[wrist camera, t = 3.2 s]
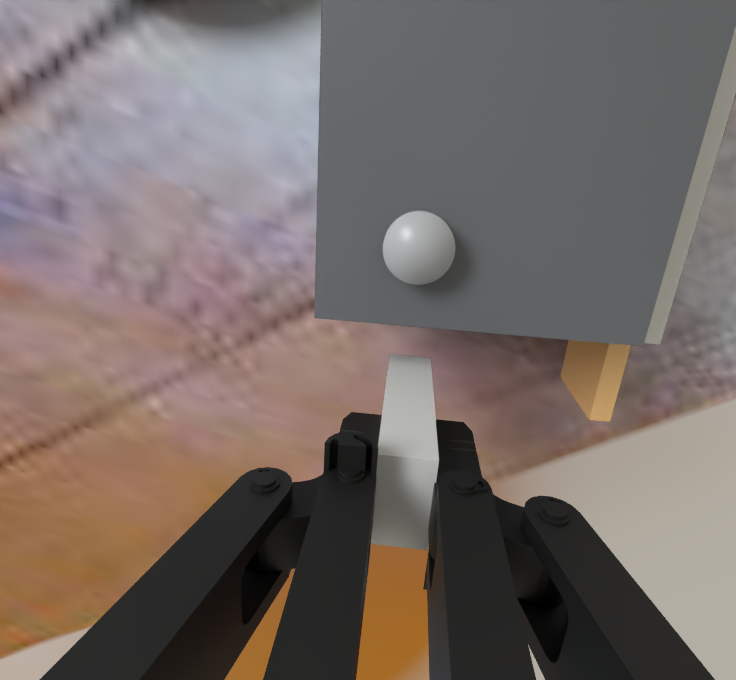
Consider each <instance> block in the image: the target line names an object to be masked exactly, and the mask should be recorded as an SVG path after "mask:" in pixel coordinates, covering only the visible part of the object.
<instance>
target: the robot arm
mask: <svg viewBox="0 0 736 680" xmlns="http://www.w3.org/2000/svg"><path fill="white" fill-rule="evenodd" d="M428 539H429V552H428V559H427V567H426V574H425V582H424V588H423V589H426V590H427V600H428V636H429V676H430V680H536V677H535V673H534V669H533V665H532V660H531V656H530V651H529V647H530V649H531V651H532V653H533V655H534V657H535V659H536V661H537V663H538V665H539V667H540V669H541V671H542V673H543V675H544V678H545V680H714V678H713V677H712V676H711V674H710V673H709V672H708V671H707V669H706V668H705V667H704V666H703V664H702V663H701V662H700V661H699V660H698V658H697V657H696V656H695V655H694V653H693V652H692V651H691V650H690V648H689V647H688V646H687V645H686V643H685V642H684V641H683V640H682V638H681V637H680V636H679V635H678V633H677V632H676V631H675V630H674V629H673V627H672V626H671V625H670V624H669V622H668V621H667V620H666V619H665V617H664V616H663V615H662V614H661V612H660V611H659V610H658V609H657V608H656V606H655V605H654V604H653V603H652V601H651V600H650V599H649V598H648V596H647V595H646V594H645V593H644V592H643V590H642V589H641V588H640V586H639V585H638V584H637V583H636V582H635V580H634V579H633V578H632V577H631V575H630V574H629V573H628V572H627V571H626V570H625V568H624V567H623V565H622V564H621V563H620V562H619V560H618V559H617V558H616V557H615V556H614V554H613V553H612V552H611V551H610V549H609V548H608V547H607V546H606V544H605V543H604V542H603V541H602V540H601V538H600V537H599V536H598V535H597V533H596V532H595V531H594V530H593V528H592V527H591V526H590V525H589V523H588V522H587V521H586V520H585V518H584V517H583V516H582V515H581V514H580V512H578V511H577V510H576V509H575V508H574V507H573V506H571V505H570V504H568V503H566V502H564V501H563V500H560V499H557V498H553V497H549V496H537V497H532V498H530V499H529V500H528V501H526V503H525V507H521V506H518V505H515V504H512V503H509V502H507V501H504V500H502V499H500V498H498V497H497V496H495V495H493V493H492V489H491V487H490V485H489V483H488V482H487V481H486V480H484V479H483V478H482V475H481V470H480V466H479V461H478V456H477V452H476V447H475V443H474V438H473V433H472V431H471V430H470V429H469V428H468V427H467V425H466V424H465V423H464V422H456V421H446V420H436V418H435V406H434V394H433V382H432V370H431V358H425V357H414V356H403V355H393V354H390V357H389V365H388V373H387V380H386V388H385V396H384V403H383V411H382V415H375V414H365V413H355V412H351V413H350V414H349V415H348V416H347V417H345V418H344V419H343V421H342V425H341V428H340V432H339V433H337V434H334V435H333V436H331V437H329V438H328V439H327V441H326V442H325V454H324V473H323V475H321V476H319V477H318V478H315V479H312V480H308V481H302V482H293V483H292V480H291V477H290V476H289V475H288V474H287V473H286V472H284V471H282V470H280V469H277V468H269V467H266V468H257V469H254V470H251V471H249V472H247V473H245V474H244V475H243V476H241V477H240V478H239V479H238V480H237V481H236V482H235V483H234V484H233V485H232V486H231V487H230V488H229V489H228V490H227V491H226V492H225V493H224V494H223V495H222V496H221V497H220V498H219V499H218V500H217V501H216V502H215V503H214V504H213V505H212V506H211V507H210V508H209V509H208V510H207V511H206V512H205V513H204V514H203V515H202V516H201V517H200V518H199V519H198V520H197V521H196V522H195V523H194V524H193V525H192V526H191V527H190V528H189V529H188V531H187V532H186V533H185V534H184V535H183V536H182V537H181V538H180V539H179V540H178V541H177V542H176V543H175V544H174V545H173V546H172V547H171V548H170V549H169V550H168V551H167V552H166V553H165V554H164V555H163V556H162V557H161V558H160V559H159V560H158V561H157V562H156V563H155V564H154V565H153V566H152V567H151V568H150V569H149V570H148V571H147V572H146V573H145V574H144V575H143V576H142V577H141V578H140V579H139V580H138V581H137V582H136V583H135V584H134V585H133V586H132V587H131V588H130V589H129V590H128V591H127V592H126V593H125V594H124V595H123V596H122V597H121V598H120V599H119V600H118V601H117V602H116V603H115V604H114V605H113V606H112V607H111V608H110V609H109V610H108V611H107V612H106V613H105V614H104V615H103V616H102V617H101V618H100V619H99V620H98V621H97V622H96V623H95V624H94V625H93V626H92V627H91V628H90V629H89V630H88V632H87V633H86V634H85V635H84V636H83V637H82V638H81V639H80V640H79V641H78V642H77V643H76V644H75V645H74V646H73V647H72V648H71V649H70V650H69V651H68V652H67V653H66V654H65V655H64V656H63V657H62V658H61V659H60V660H59V661H58V662H57V663H56V664H55V665H54V666H53V667H52V668H51V669H50V670H49V671H48V672H47V673H46V674H45V675H44V676H43V677H42V678H41V679H40V680H224V679H225V678H226V676H227V674H228V673H229V671H230V669H231V668H232V666H233V665H234V663H235V662H236V660H237V658H238V657H239V655H240V653H241V652H242V650H243V649H244V647H245V646H246V644H247V642H248V641H249V639H250V637H251V636H252V634H253V633H254V631H255V630H256V628H257V626H258V625H259V623H260V622H261V620H262V618H263V617H264V615H265V614H266V612H267V610H268V609H269V607H270V606H271V604H272V602H273V601H274V599H275V598H276V596H277V594H278V593H279V591H280V590H281V588H282V586H283V585H284V583H285V582H286V580H287V578H288V577H289V574H290V571H291V569H293V568H296V569H295V572H294V575H293V579H292V582H291V586H290V589H289V593H288V596H287V599H286V603H285V607H284V610H283V613H282V617H281V620H280V623H279V627H278V630H277V634H276V637H275V641H274V645H273V648H272V651H271V655H270V658H269V661H268V665H267V668H266V672H265V675H264V678H263V680H356V674H357V665H358V656H359V647H360V637H361V628H362V620H363V611H364V602H365V592H366V584H367V575H368V566H369V556H370V544H379V545H388V546H396V547H404V548H413V549H422V550H427V547H428ZM528 645H529V647H528Z"/></svg>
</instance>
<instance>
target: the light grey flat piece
mask: <svg viewBox="0 0 736 680" xmlns="http://www.w3.org/2000/svg"><path fill="white" fill-rule="evenodd" d="M735 94H736V27H735V30H734V34H733V37H732V41H731V44H730V47H729V51H728V54H727V58H726V61H725V65H724V68H723V72H722V75H721V79H720V82H719V86H718V89H717V93H716V96H715V99H714V103H713V106H712V110H711V113H710V117H709V120H708V124H707V127H706V131H705V134H704V138H703V141H702V144H701V148H700V151H699V155H698V158H697V162H696V165H695V169H694V172H693V176H692V179H691V183H690V186H689V190H688V193H687V196H686V200H685V203H684V207H683V210H682V214H681V217H680V221H679V224H678V228H677V231H676V235H675V238H674V242H673V245H672V248H671V252H670V255H669V259H668V262H667V266H666V269H665V273H664V276H663V280H662V283H661V287H660V290H659V293H658V297H657V300H656V304H655V307H654V311H653V314H652V318H651V321H650V325H649V328H648V332H647V335H646V339H645V342H644V343H648V344H660V343H661V340H662V336H663V333H664V330H665V326H666V323H667V320H668V316H669V313H670V310H671V307H672V303H673V300H674V297H675V293H676V290H677V287H678V283H679V280H680V277H681V273H682V270H683V267H684V263H685V260H686V257H687V254H688V250H689V247H690V244H691V240H692V237H693V234H694V230H695V227H696V224H697V220H698V217H699V214H700V210H701V207H702V204H703V200H704V197H705V194H706V191H707V187H708V184H709V181H710V177H711V174H712V171H713V167H714V164H715V161H716V157H717V154H718V151H719V147H720V144H721V141H722V138H723V134H724V131H725V128H726V124H727V121H728V118H729V114H730V111H731V108H732V104H733V101H734V98H735ZM630 348H631V345H621V344H609V343H598V342H586V341H575V340H569V341H568V345H567V350H566V354H565V359H564V363H563V367H562V372H561V376H560V377H561V379H562V380H563V382H564V383H565V385H566V386H567V388H568V389H569V391H570V392H571V394H572V395H573V396H574V398H575V399H576V401H577V402H578V404H579V405H580V407H581V408H582V410H583V411H584V413H585V414H586V416H587V417H588V419H589V420H596V421H607V422H610V420H611V416H612V413H613V409H614V405H615V402H616V398H617V395H618V391H619V387H620V384H621V380H622V377H623V373H624V369H625V366H626V362H627V359H628V355H629V352H630Z"/></svg>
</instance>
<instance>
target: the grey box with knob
mask: <svg viewBox="0 0 736 680" xmlns="http://www.w3.org/2000/svg"><path fill="white" fill-rule="evenodd" d="M735 27H736V0H322V14H321V57H320V100H319V143H318V187H317V230H316V273H315V316H314V318H321V319H332V320H344V321H355V322H367V323H378V324H390V325H402V326H413V327H425V328H436V329H448V330H459V331H471V332H482V333H494V334H505V335H517V336H529V337H540V338H552V339H563V340H575V341H586V342H598V343H609V344H621V345H632V346H643V345H644V342H645V339H646V335H647V332H648V328H649V325H650V321H651V318H652V314H653V311H654V307H655V304H656V300H657V297H658V293H659V290H660V287H661V283H662V280H663V276H664V273H665V269H666V266H667V262H668V259H669V255H670V252H671V248H672V245H673V242H674V238H675V235H676V231H677V228H678V224H679V221H680V217H681V214H682V210H683V207H684V203H685V200H686V196H687V193H688V190H689V186H690V183H691V179H692V176H693V172H694V169H695V165H696V162H697V158H698V155H699V151H700V148H701V144H702V141H703V138H704V134H705V131H706V127H707V124H708V120H709V117H710V113H711V110H712V106H713V103H714V99H715V96H716V93H717V89H718V86H719V82H720V79H721V75H722V72H723V68H724V65H725V61H726V58H727V54H728V51H729V47H730V44H731V41H732V37H733V34H734V30H735Z"/></svg>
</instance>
